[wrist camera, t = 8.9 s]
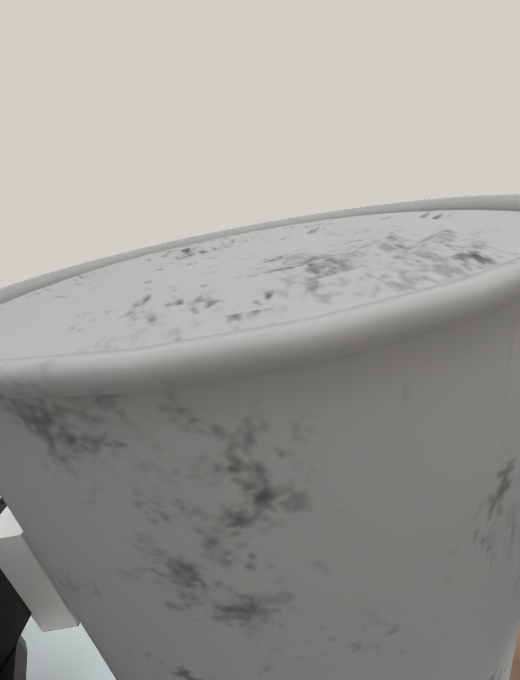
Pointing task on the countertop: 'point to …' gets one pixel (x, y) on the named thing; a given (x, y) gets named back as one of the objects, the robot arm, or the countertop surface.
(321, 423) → the speckled white cylinder
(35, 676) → the countertop surface
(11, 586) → the robot arm
